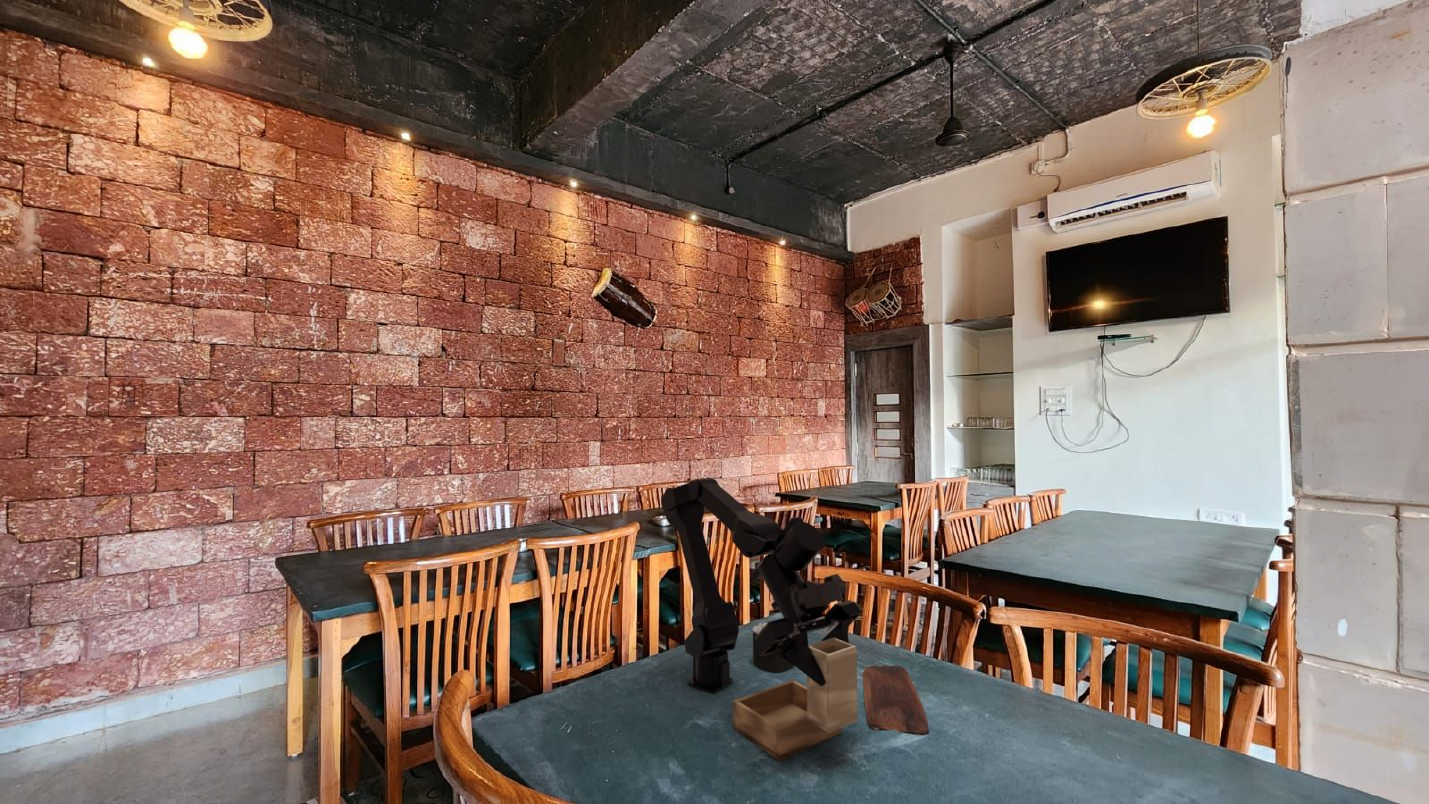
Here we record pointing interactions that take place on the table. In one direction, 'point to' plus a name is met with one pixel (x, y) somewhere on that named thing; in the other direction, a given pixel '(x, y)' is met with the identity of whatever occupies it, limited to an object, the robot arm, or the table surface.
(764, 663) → the sushi
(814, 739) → the oak crate
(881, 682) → the wooden tablet
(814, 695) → the birch crate
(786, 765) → the table surface
